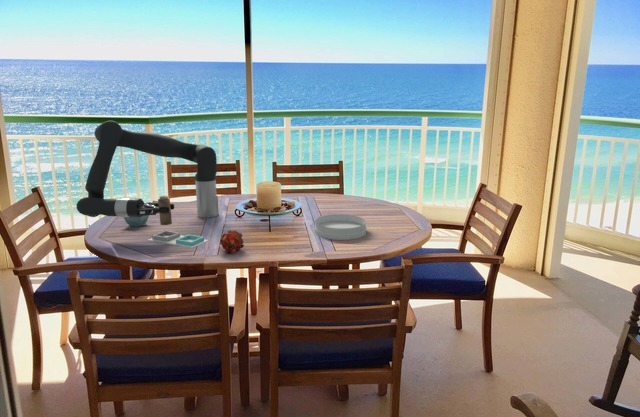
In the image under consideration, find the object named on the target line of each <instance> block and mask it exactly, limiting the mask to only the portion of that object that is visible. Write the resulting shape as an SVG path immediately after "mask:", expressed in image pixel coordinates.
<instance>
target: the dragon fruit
mask: <svg viewBox="0 0 640 417" xmlns="http://www.w3.org/2000/svg"><path fill="white" fill-rule="evenodd" d="M242 237H243V234H242V233H241V232H239V231H238V230H236V229H234V230H231V229H229V230H227V232H226V233H223V234H222V235H221V239H220V241H219V244H220V245H221V247H222V249H223V250H225V252H226V254H228V255H229V254H231V253H234V252H239V251H240V250H241V249H243V248H244V246H245V243H244V239H243V238H242Z"/></svg>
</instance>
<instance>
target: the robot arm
mask: <svg viewBox="0 0 640 417" xmlns="http://www.w3.org/2000/svg"><path fill="white" fill-rule="evenodd" d="M94 136H95V139H96V140H97V141H98V147H97V152H96V154H95V157H94V160H93V162H92V164H91V166H90V169H89V170H88V171H89V172H88V175H87V180H86V182H85V188H84V189H85V191H86V192H87V197H82V198H80V199H79V200H78V201H77V202H76V210H77V212H78V213H80V214H81V215H82V216H87V217H90V218H96V217H98V216H99V215H101V216H104V217H105V216H106V217H118V218H119V217H120V218H124V217H142V216H145V215H149V216H156V215H157V214H158V215H160V214H159V213H169V212H170V208H169V207H160V208H159V204H158V200H153V201H152V202H151V201H148V202H146V203H145V202H144V200H143V198H131V197H130V198H129V197H128V198H127V197H126V198H125V197H124V198H105V192H104V191H105V188H106V184H107V181H108V176H109V172H110V168H111V164H112V161H113V158H114V155H115V154H116V153H115V152H116V149H117V147H121V148H128V149H131V150H135V151H138V152H142V153H146V154H149V155H153V156H157V157H158V156H159V157H161V158H162V157H163V158H178V159H183V160H187V161H189V162H192V163H196V165H197V170H196V172H197V173H196V174H195V176H194V178H195V179H194V180H195V182H194V183H195V193H196V194H195V195H196V196H195V197H196V214H197V217H199V218H203V219H204V218H214V217H216V216H219V215H220V213H219V212H220V211H219V197H218V196H219V195H217V181H216V180H217V179H216V177H217V176H216V175H217V169H218V168H217V166H218V164H217V163H218V161H217V152H216V151H215V149H214V148H212V147H211V146H207V145H203V144H196V143H188V142H183V141H180V140H178V139H177V138H174V137H169V136H167V135H163V134H161V133H160V134H159V133H155V132H147V131H146V132H144V131H131V130H127V129H124V128H122V126H121V125H120V123H118V122H117V121H115V120H107V121H104V122H101V123H100V124H99V125H98V126H97V127H96V128H95V130H94ZM170 207H171V211H173V210H174V209H175V204H174V203H170Z"/></svg>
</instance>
